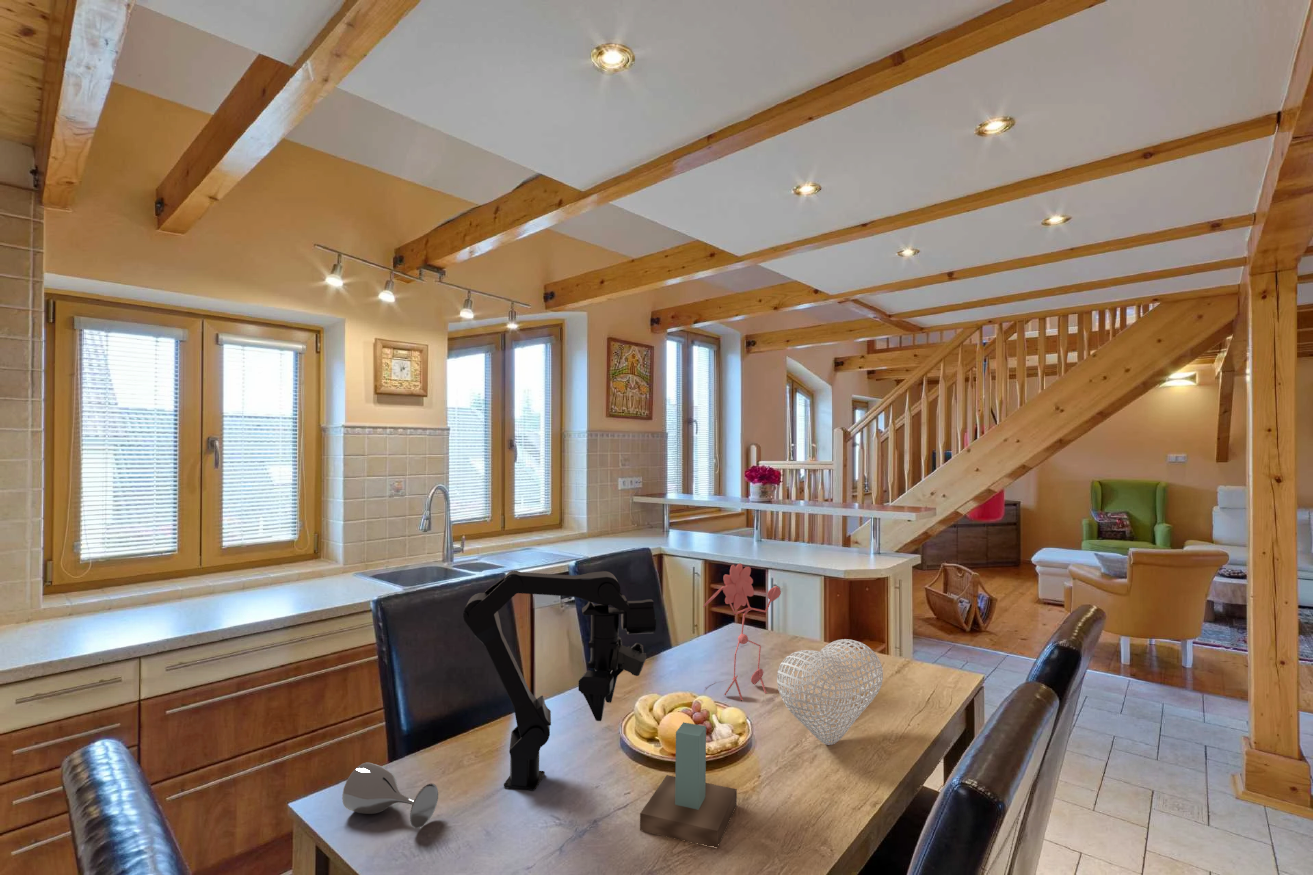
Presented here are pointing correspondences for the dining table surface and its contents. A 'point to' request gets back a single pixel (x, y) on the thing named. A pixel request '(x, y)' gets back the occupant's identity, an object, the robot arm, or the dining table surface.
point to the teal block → (690, 765)
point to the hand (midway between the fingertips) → (604, 711)
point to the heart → (829, 655)
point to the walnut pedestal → (689, 814)
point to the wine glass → (385, 794)
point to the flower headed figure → (737, 593)
